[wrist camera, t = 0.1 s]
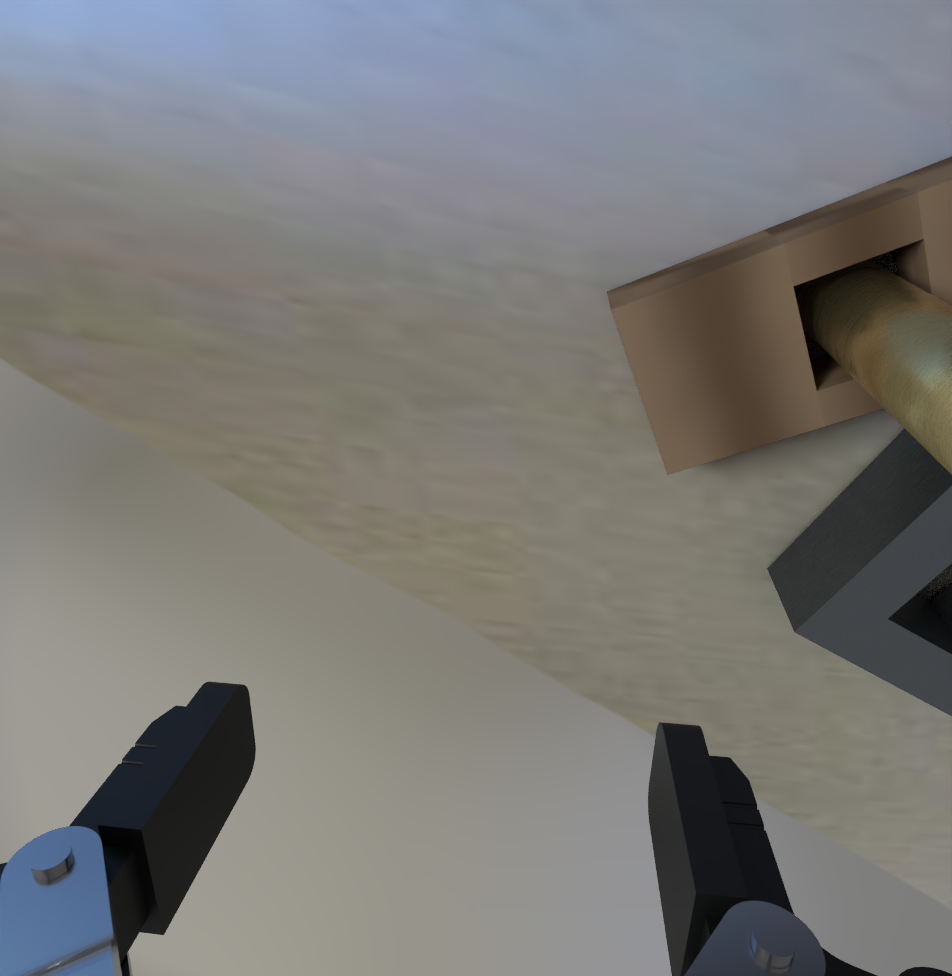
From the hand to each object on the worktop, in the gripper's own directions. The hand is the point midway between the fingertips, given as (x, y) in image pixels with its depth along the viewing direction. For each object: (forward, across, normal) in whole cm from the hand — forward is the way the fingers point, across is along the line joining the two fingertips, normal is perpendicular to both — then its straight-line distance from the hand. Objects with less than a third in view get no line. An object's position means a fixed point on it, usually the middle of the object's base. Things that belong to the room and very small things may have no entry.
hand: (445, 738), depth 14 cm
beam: (+22, -14, -6) cm, 26 cm away
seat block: (+23, -21, +6) cm, 32 cm away
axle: (+22, -14, -6) cm, 26 cm away
